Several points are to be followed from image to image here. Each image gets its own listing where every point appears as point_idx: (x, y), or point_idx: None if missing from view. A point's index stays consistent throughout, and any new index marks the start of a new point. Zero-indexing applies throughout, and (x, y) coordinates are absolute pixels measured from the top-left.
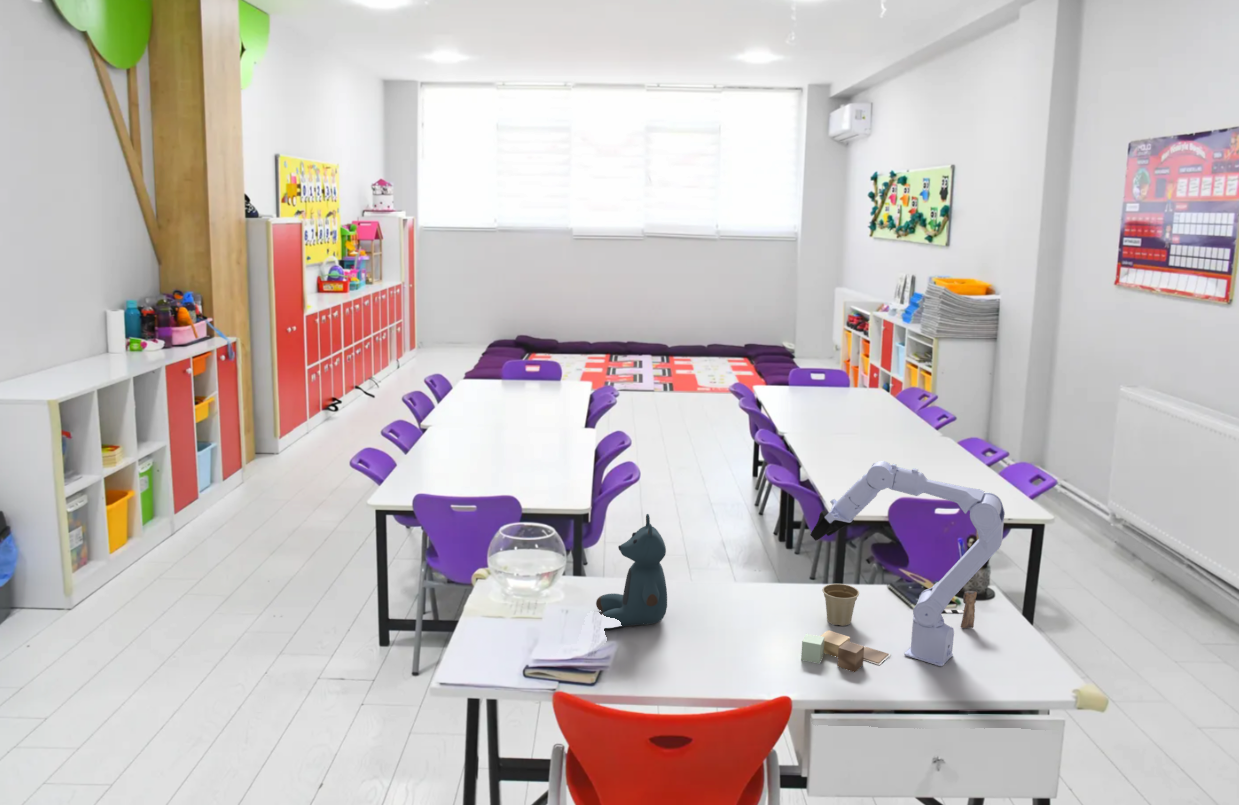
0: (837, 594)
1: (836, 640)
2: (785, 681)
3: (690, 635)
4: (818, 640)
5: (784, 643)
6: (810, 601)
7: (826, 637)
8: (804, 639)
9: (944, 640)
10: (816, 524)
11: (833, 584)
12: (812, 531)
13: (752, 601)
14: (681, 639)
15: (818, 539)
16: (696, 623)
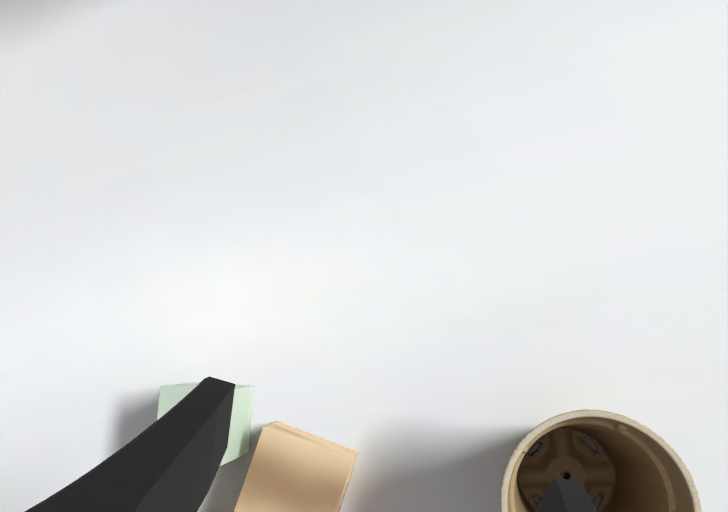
0: (653, 474)
1: (271, 505)
2: (47, 360)
3: (249, 17)
4: None
5: (294, 305)
6: (715, 329)
7: (283, 462)
8: (177, 392)
9: None
10: (80, 478)
11: (672, 459)
12: (174, 406)
13: (602, 116)
14: (215, 4)
15: (215, 470)
16: (338, 4)
